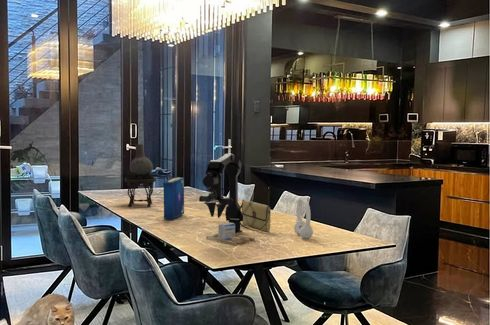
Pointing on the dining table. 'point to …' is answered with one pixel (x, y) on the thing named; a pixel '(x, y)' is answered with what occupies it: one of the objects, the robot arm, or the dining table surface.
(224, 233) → the medicine box
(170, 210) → the book
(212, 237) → the light wood flat frame
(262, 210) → the clutch purse
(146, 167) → the brazier
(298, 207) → the headphones
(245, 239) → the offcut top
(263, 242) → the dining table surface
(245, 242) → the block
